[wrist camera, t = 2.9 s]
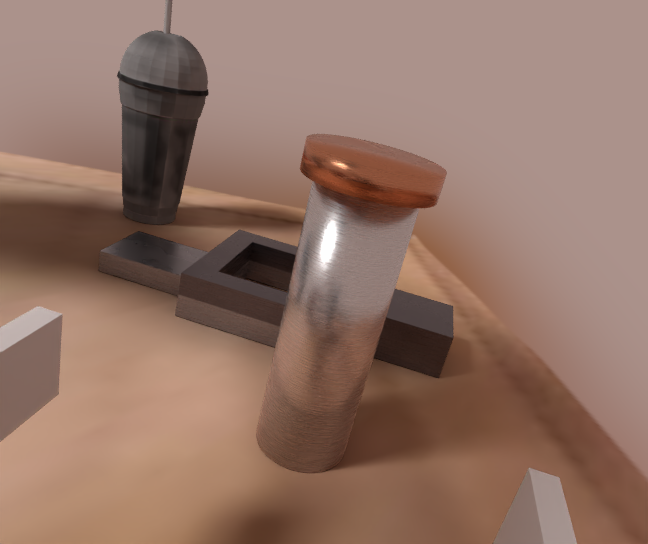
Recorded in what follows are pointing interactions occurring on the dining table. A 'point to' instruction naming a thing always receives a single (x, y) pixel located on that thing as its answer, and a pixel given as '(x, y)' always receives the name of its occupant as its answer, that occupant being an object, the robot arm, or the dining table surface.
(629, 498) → the dining table surface
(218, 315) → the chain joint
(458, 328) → the dining table surface
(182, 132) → the beverage cup
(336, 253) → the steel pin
